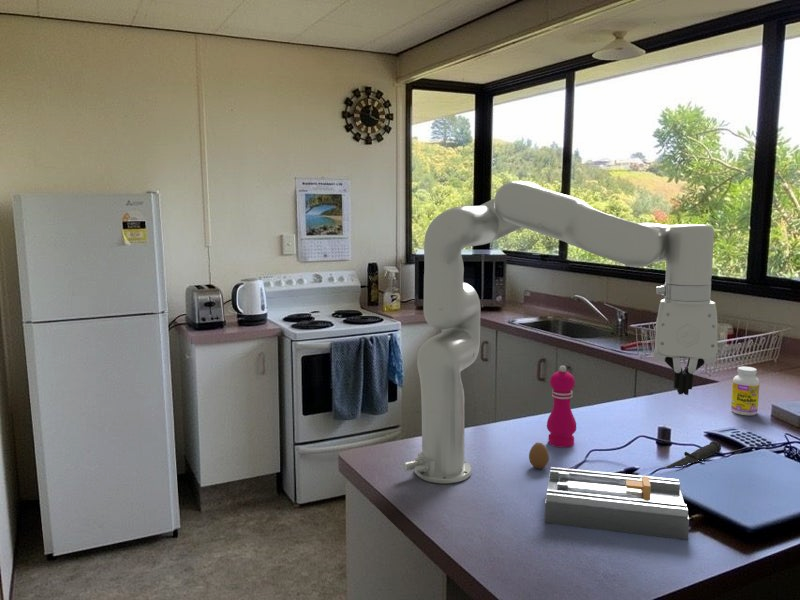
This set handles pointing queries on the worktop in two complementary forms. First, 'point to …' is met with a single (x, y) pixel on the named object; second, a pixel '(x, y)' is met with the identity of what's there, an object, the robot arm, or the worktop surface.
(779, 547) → the worktop surface
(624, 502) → the grey ridged tray
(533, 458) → the egg
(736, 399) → the supplement bottle
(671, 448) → the worktop surface
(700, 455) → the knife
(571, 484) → the light grey bar
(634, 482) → the latch
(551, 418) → the pepper mill
